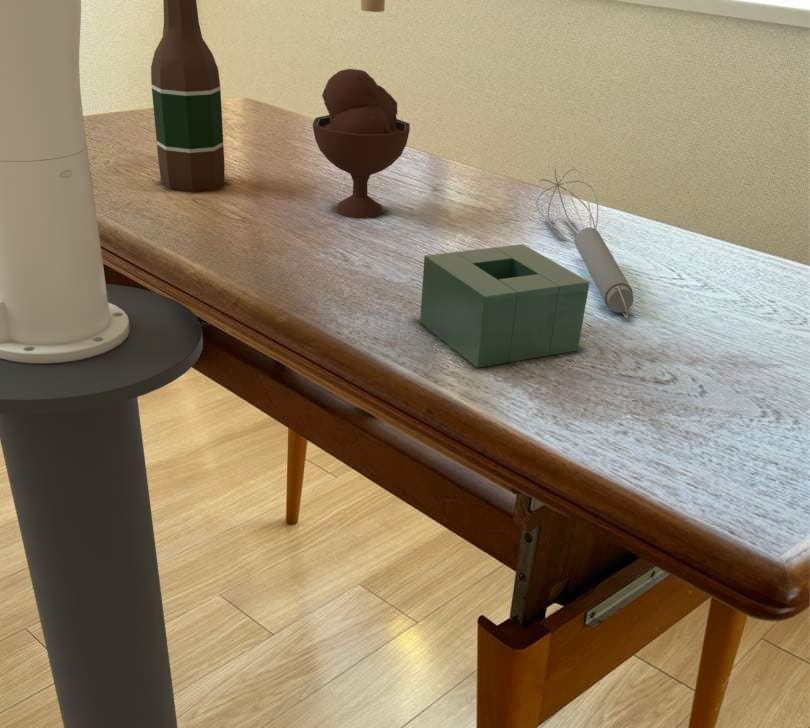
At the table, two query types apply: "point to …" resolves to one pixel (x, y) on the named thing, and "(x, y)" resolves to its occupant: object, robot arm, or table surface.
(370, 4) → the stick
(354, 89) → the ice cream bowl
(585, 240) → the kitchen whisk
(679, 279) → the table surface
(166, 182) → the beer bottle
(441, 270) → the holder
